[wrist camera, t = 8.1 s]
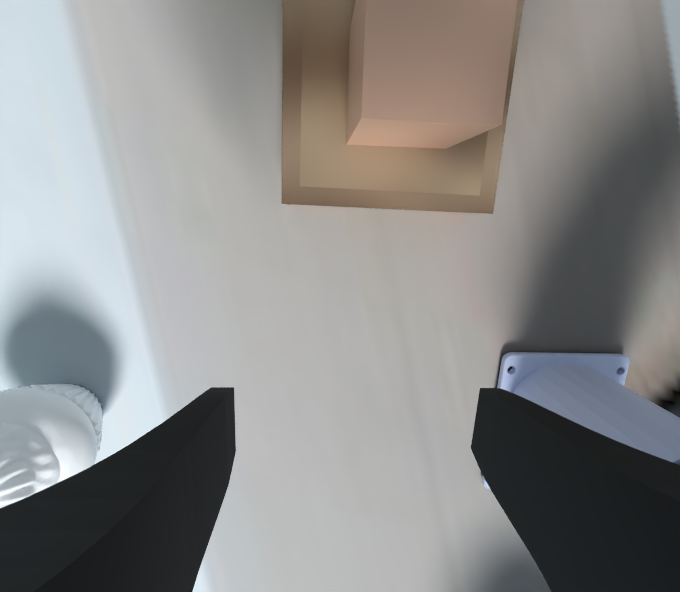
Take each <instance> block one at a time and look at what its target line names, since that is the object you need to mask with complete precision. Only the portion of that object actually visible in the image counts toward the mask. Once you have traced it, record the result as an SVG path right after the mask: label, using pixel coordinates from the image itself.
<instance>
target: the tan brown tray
mask: <svg viewBox="0 0 680 592" xmlns="http://www.w3.org/2000/svg"><path fill="white" fill-rule="evenodd" d="M355 1H356V0H283V92H282V204H298V205H319V206H340V207H362V208H383V209H404V210H425V211H446V212H467V213H489V214H493V210H494V203H495V196H496V189H497V182H498V175H499V168H500V161H501V154H502V147H503V140H504V133H505V126H506V119H507V113H508V106H509V99H510V92H511V85H512V78H513V71H514V64H515V57H516V50H517V43H518V36H519V29H520V22H521V15H522V8H523V1H524V0H517V7H516V15H515V23H514V31H513V39H512V47H511V55H510V63H509V71H508V79H507V87H506V95H505V103H504V111H503V119H502V125H500V126H498V127H495V128H493V129H491V130H488V131H486V132H484V133H481V134H479V135H477V136H474V137H472V138H470V139H467V140H465V141H462V142H460V143H458V144H455V145H453V146H451V147H448V148H446V149H440V148H416V147H392V146H369V145H346V142H347V109H348V76H349V42H350V25H351V20H352V16H353V11H354V6H355Z"/></svg>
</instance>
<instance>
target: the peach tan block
mask: <svg viewBox="0 0 680 592" xmlns="http://www.w3.org/2000/svg"><path fill="white" fill-rule="evenodd" d="M516 7H517V0H356V1H355V6H354V11H353V16H352V20H351V25H350V42H349V76H348V109H347V142H346V145H369V146H392V147H416V148H440V149H446V148H448V147H451V146H453V145H455V144H458V143H460V142H462V141H465V140H467V139H470V138H472V137H474V136H477V135H479V134H481V133H484V132H486V131H488V130H491V129H493V128H495V127H498V126H500V125H502V119H503V111H504V103H505V95H506V87H507V79H508V71H509V63H510V55H511V47H512V39H513V31H514V23H515V15H516Z"/></svg>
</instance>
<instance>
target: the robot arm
mask: <svg viewBox="0 0 680 592" xmlns="http://www.w3.org/2000/svg"><path fill="white" fill-rule="evenodd" d="M629 363H630V360H629V358H628V357H627V356H625V355H623V354H607V353H535V352H509V353H507V354H505V355H504V356H503V358H502V362H501V368H500V374H499V380H498V386H497V388H480V393H479V399H478V405H477V412H476V418H475V425H474V431H473V438H472V444H471V449H472V452H473V454H474V456H475V459H476V461H477V463H478V466H479V468H480V470H481V472H482V474H483V476H482V483H483V484H484V486H485V487H486V488H487V489H491V491H492V492H493V494H494V495H495V497H496V499H497V500H498V502H499V504H500V505H501V507H502V509H503V510H504V512H505V513H506V515H507V517H508V518H509V520H510V521H511V523H512V525H513V526H514V528H515V529H516V531H517V533H518V534H519V536H520V538H521V539H522V541H523V542H524V544H525V546H526V547H527V549H528V550H529V552H530V554H531V555H532V557H533V559H534V560H535V562H536V564H537V566H538V567H539V569H540V571H541V573H542V574H543V576H544V578H545V580H546V582H547V584H548V586H549V588H550V590H551V592H680V418H679V417H677V416H675V415H673V414H672V413H670V412H668V411H666V410H665V409H663V408H661V407H660V406H658V405H656V404H654V403H653V402H651V401H649V400H647V399H646V398H644V397H642V396H640V395H639V394H637V393H635V392H634V391H632V390H630V389H628V388H627V387H625V386H624V383H625V379H626V375H627V371H628V367H629ZM510 366H512V369H511V370H510V371H507V369H508V368H509V367H510ZM618 368H619V370H618V371H617V369H618ZM235 452H236V447H235V411H234V388H210V389H209V390H207V391H206V392H204V393H203V394H201V395H200V396H199V397H197V398H196V399H195V400H193V401H192V402H191V403H189V404H188V405H187V406H185V407H184V408H183V409H181V410H180V411H178V412H177V413H176V414H174V415H173V416H171V417H170V418H169V419H167V420H166V421H165V422H163V423H162V424H160V425H159V426H157V427H156V428H154V429H153V430H151V431H150V432H148V433H146V434H145V435H143V436H142V437H140V438H139V439H137V440H136V441H134V442H133V443H131V444H130V445H128V446H126V447H125V448H123V449H121V450H120V451H118V452H116V453H115V454H113V455H111V456H109V457H107V458H106V459H104V460H102V461H100V462H98V463H96V464H95V465H93V466H91V467H89V468H87V469H85V470H83V471H81V472H79V473H77V474H75V475H73V476H71V477H69V478H67V479H65V480H63V481H60V482H58V483H56V484H54V485H52V486H50V487H48V488H46V489H43V490H41V491H39V492H37V493H35V494H33V495H31V496H29V497H26V498H24V499H22V500H19V501H17V502H15V503H12V504H10V505H7V506H5V507H2V508H0V592H192V590H193V587H194V584H195V581H196V577H197V574H198V571H199V568H200V565H201V562H202V559H203V557H204V554H205V551H206V548H207V545H208V542H209V539H210V537H211V534H212V531H213V528H214V525H215V522H216V519H217V517H218V514H219V511H220V508H221V505H222V502H223V499H224V496H225V493H226V490H227V487H228V484H229V480H230V475H231V471H232V466H233V461H234V456H235Z"/></svg>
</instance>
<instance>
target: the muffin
mask: <svg viewBox="0 0 680 592" xmlns="http://www.w3.org/2000/svg"><path fill="white" fill-rule="evenodd" d="M102 418H103V413H102V408H101V403H99V402H98V398H97V397H95V396H94V394H93V393H91V392H90V390H86V389H85V387H80V386H79V385H74V384H41V385H29V386H20V387H18V388H15V389H8V390H4V391H0V508H2V507H5V506H7V505H10V504H12V503H15V502H17V501H19V500H22V499H24V498H26V497H29V496H31V495H33V494H35V493H37V492H39V491H41V490H43V489H46V488H48V487H50V486H52V485H54V484H56V483H58V482H60V481H63V480H65V479H67V478H69V477H71V476H73V475H75V474H77V473H79V472H81V471H83V470H85V469H87V468H89V467H91V466H93V465H94V462H95V459H96V453H97V452H98V451H99V449H100V443H101V437H102Z"/></svg>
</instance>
